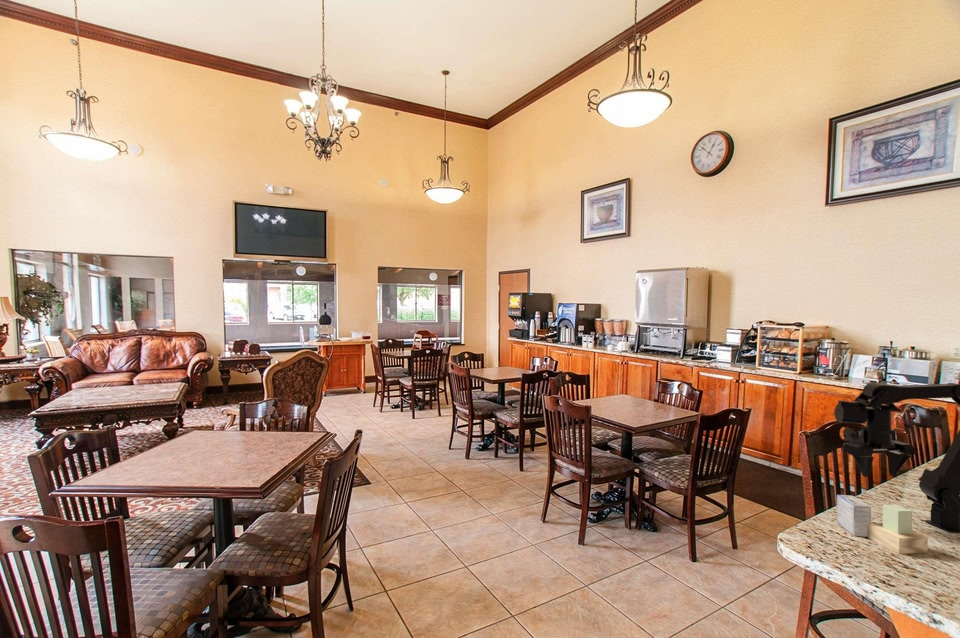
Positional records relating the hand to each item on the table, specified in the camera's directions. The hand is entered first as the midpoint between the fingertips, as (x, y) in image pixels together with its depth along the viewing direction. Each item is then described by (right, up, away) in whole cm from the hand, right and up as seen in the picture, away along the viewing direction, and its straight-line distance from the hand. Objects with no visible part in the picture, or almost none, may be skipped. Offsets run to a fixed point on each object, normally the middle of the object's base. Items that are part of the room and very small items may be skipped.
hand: (878, 476), depth 131 cm
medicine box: (-14, -13, -8) cm, 21 cm away
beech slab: (-10, -13, -16) cm, 22 cm away
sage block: (-10, -9, -16) cm, 20 cm away
